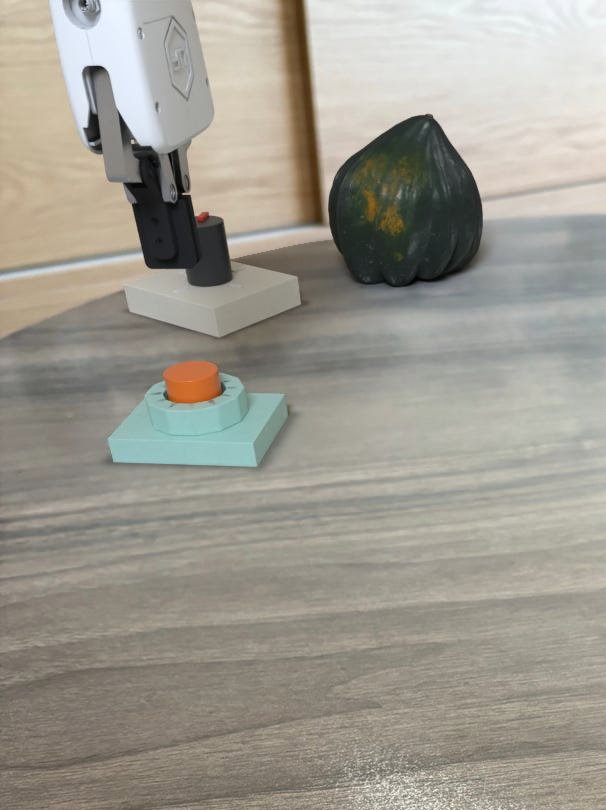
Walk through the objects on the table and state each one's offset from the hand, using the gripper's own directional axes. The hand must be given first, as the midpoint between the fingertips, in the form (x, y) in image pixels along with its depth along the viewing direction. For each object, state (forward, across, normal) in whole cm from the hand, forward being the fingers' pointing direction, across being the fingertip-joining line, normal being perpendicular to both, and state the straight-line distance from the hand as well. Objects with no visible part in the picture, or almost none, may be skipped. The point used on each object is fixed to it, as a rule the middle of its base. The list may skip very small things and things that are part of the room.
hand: (175, 264), depth 65 cm
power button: (+9, 0, 0) cm, 9 cm away
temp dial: (+9, +26, +8) cm, 29 cm away
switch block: (+12, 0, +1) cm, 12 cm away
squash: (+13, +38, -8) cm, 41 cm away
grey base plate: (+12, +26, +8) cm, 30 cm away
